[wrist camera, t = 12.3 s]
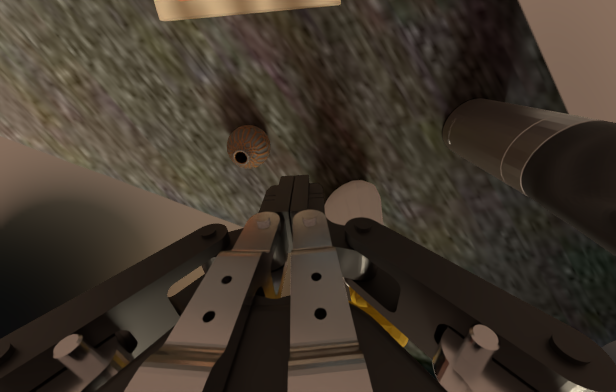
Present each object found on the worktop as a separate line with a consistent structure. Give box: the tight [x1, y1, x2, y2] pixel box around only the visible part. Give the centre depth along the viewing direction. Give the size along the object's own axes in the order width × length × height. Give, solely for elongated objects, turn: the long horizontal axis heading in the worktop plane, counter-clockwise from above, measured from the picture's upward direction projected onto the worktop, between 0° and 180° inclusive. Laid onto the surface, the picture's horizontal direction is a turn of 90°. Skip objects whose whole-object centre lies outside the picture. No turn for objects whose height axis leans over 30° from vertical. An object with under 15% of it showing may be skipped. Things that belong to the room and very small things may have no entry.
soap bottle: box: [324, 180, 408, 347], centre depth 33 cm, size 13×10×29 cm
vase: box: [227, 125, 270, 169], centre depth 37 cm, size 7×7×9 cm
